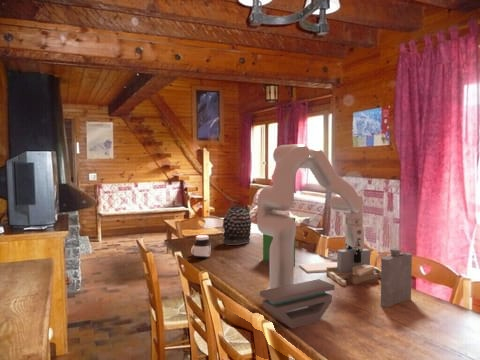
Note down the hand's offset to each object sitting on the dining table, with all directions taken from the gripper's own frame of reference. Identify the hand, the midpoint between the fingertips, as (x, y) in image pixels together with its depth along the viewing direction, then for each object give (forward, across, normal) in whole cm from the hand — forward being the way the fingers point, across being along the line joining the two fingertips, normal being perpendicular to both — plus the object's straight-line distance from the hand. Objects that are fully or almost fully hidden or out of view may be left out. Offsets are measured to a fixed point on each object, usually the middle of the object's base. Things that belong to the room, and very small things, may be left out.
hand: (353, 260), depth 180 cm
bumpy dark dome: (+8, +79, +40) cm, 89 cm away
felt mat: (+7, +14, +8) cm, 18 cm away
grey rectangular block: (+7, 0, 0) cm, 7 cm away
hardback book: (+8, +29, +27) cm, 41 cm away
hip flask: (+8, -34, 0) cm, 34 cm away
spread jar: (+8, +49, +66) cm, 83 cm away
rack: (+7, -5, 0) cm, 9 cm away
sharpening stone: (+8, -43, +41) cm, 60 cm away
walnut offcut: (+8, -9, 0) cm, 12 cm away
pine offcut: (+4, -9, 0) cm, 10 cm away
